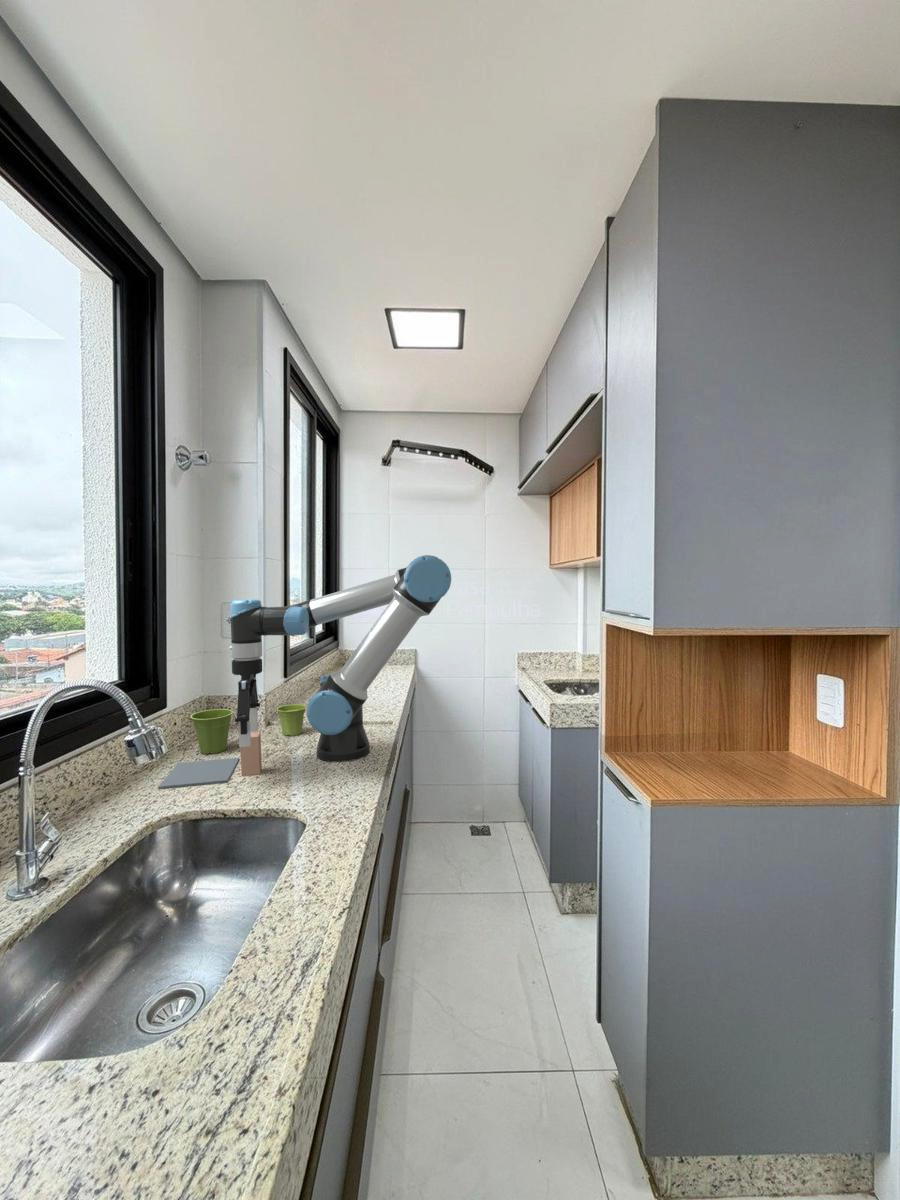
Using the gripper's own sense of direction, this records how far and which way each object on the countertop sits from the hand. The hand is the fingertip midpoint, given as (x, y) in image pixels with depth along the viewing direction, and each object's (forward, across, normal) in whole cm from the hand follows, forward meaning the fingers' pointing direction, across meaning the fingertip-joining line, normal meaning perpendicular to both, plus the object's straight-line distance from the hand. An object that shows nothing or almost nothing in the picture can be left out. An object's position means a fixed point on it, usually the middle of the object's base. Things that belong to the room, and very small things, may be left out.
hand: (248, 738), depth 144 cm
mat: (+9, -3, -12) cm, 16 cm away
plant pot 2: (+9, -35, +9) cm, 37 cm away
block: (+9, 0, +1) cm, 9 cm away
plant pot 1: (+10, -23, -13) cm, 28 cm away
